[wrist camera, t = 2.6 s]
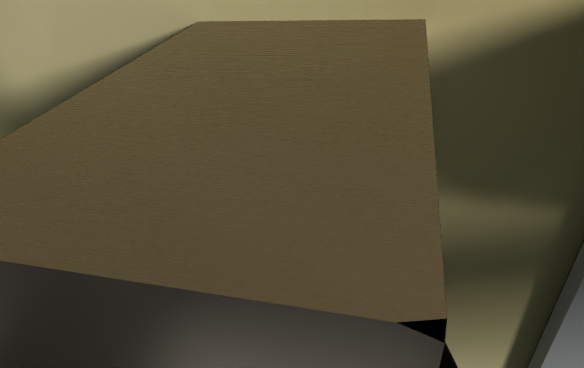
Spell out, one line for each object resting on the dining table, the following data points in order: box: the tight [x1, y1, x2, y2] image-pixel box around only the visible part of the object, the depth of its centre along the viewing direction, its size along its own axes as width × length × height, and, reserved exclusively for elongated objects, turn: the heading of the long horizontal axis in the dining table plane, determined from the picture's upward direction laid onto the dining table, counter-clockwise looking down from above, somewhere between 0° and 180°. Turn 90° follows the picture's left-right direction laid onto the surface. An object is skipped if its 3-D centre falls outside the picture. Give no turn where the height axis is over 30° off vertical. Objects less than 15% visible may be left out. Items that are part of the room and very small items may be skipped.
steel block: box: [0, 19, 447, 368], centre depth 8 cm, size 4×10×6 cm, turn 4°
